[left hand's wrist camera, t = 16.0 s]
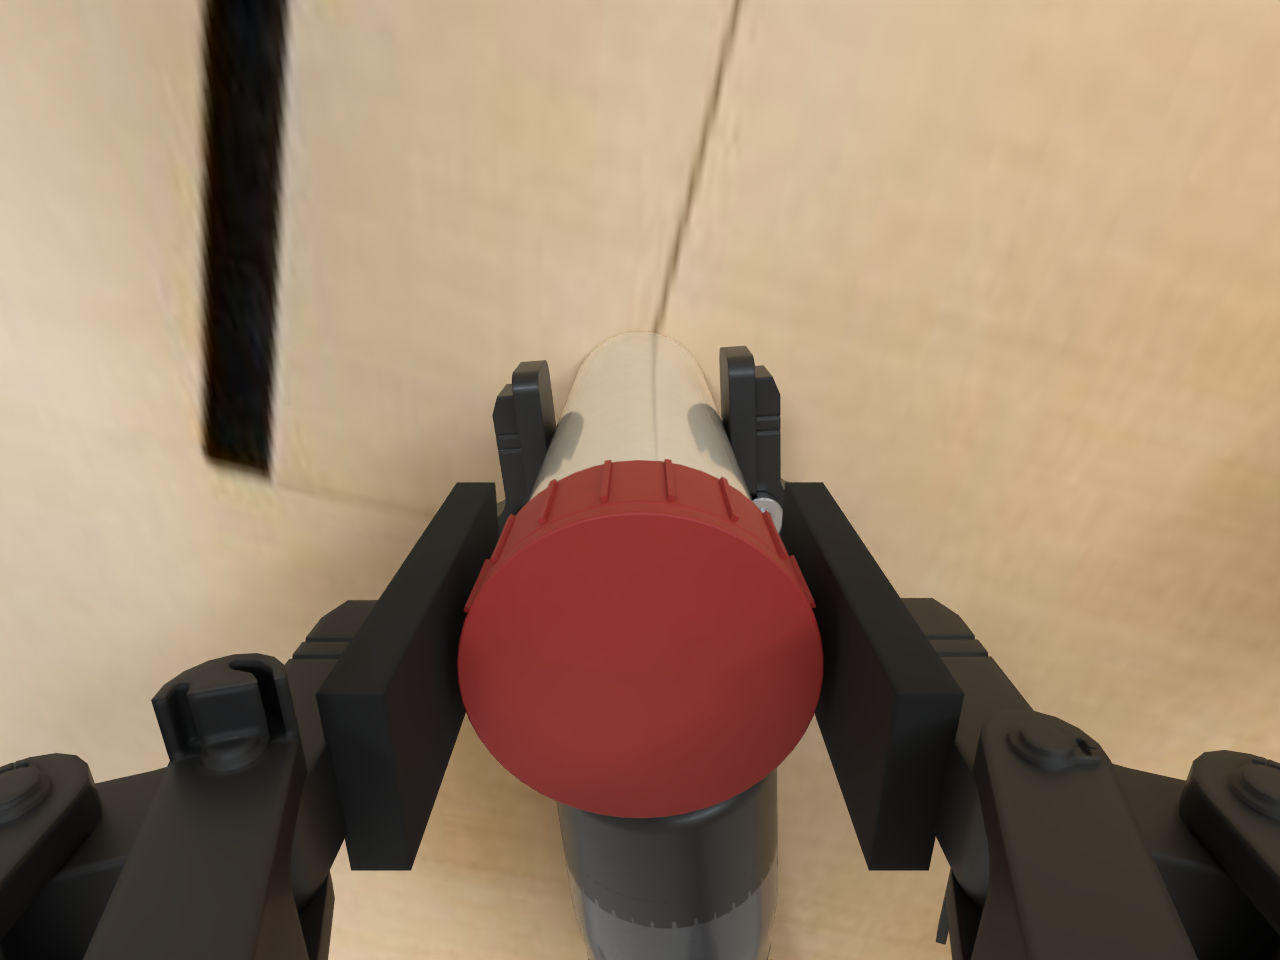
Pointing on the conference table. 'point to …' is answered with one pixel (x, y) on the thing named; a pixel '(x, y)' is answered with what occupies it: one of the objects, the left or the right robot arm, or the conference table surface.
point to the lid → (640, 642)
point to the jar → (640, 413)
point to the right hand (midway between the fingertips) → (631, 361)
